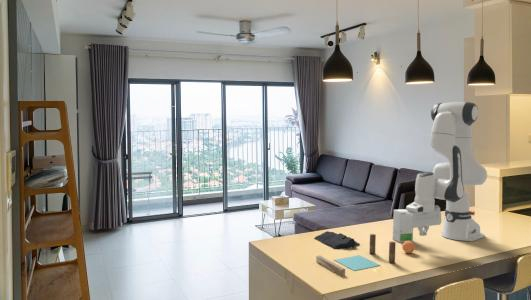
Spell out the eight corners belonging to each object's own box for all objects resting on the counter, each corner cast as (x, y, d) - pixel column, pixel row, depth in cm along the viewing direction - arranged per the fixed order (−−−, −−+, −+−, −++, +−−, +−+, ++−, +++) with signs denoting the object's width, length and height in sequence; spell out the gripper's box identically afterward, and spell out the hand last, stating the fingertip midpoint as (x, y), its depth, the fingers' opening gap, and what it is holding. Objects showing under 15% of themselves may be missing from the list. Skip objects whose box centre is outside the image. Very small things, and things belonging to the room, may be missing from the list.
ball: (408, 250, 198) (408, 238, 198) (417, 253, 193) (417, 241, 193) (399, 251, 196) (399, 240, 195) (408, 255, 191) (408, 243, 190)
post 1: (372, 252, 195) (373, 233, 194) (376, 254, 193) (376, 235, 192) (368, 253, 194) (368, 234, 193) (371, 255, 192) (372, 235, 191)
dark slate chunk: (335, 235, 224) (335, 226, 224) (362, 247, 205) (362, 237, 204) (311, 239, 217) (311, 230, 217) (336, 251, 198) (337, 242, 197)
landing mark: (359, 255, 191) (359, 255, 191) (380, 265, 178) (380, 265, 178) (334, 260, 185) (334, 259, 185) (354, 270, 172) (354, 270, 172)
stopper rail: (320, 260, 184) (320, 255, 184) (345, 275, 168) (345, 269, 168) (316, 261, 183) (316, 256, 183) (341, 275, 167) (341, 269, 167)
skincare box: (399, 242, 210) (399, 212, 209) (391, 239, 216) (392, 209, 215) (413, 241, 212) (414, 211, 211) (405, 237, 219) (406, 208, 217)
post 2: (391, 261, 184) (392, 241, 183) (396, 263, 181) (396, 242, 181) (387, 262, 183) (388, 241, 182) (391, 263, 180) (392, 243, 179)
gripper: (434, 203, 204) (433, 231, 205) (403, 206, 195) (402, 235, 196) (445, 206, 199) (444, 234, 199) (413, 209, 189) (412, 239, 190)
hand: (423, 235), depth 198 cm, fingers closed
